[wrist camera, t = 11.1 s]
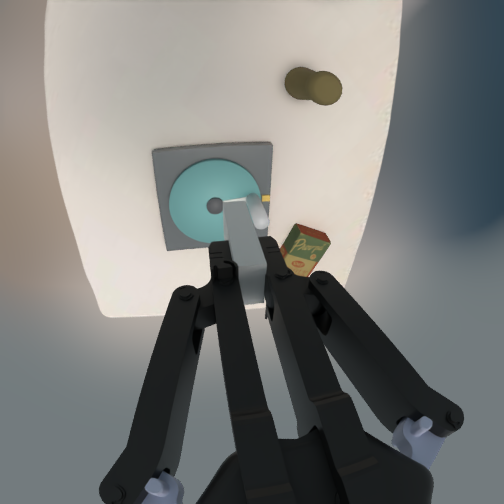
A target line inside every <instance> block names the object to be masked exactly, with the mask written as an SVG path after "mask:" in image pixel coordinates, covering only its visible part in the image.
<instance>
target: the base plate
mask: <svg viewBox="0 0 504 504" xmlns="http://www.w3.org/2000/svg"><path fill="white" fill-rule="evenodd" d="M272 154H273V145H272V143H271V142H244V143H220V144H204V145H191V146H180V147H170V148H161V149H154V150H153V152H152V157H153V165H154V173H155V181H156V188H157V195H158V202H159V208H160V215H161V221H162V226H163V232H164V238H165V243H166V248H167V251H172V250H183V249H194V248H206V247H209V245H210V244H211V243H205V242H200V241H197V240H194V239H192V238H190V237H188V236H187V235H185V234H184V233H183V232H181V231H180V230H179V229H178V227H177V226H176V225H175V223H174V221H173V219H172V217H171V214H170V210H169V199H170V193H171V189H172V187H173V184H174V182H175V181H176V179H177V178H178V176H179V175H180V174H181V173H182V172H183V171H184V170H185V169H187V168H188V167H189V166H191V165H193V164H195V163H197V162H200V161H203V160H207V159H226V160H230V161H233V162H235V163H238V164H239V165H241V166H243V167H244V168H245V169H247V170H248V171H249V172H250V174H251V175H252V176H253V178H254V179H255V181H256V183H257V185H258V187H259V191H260V195H261V202H262V204H263V207H264V209H265V211H266V213H267V216H268V218H269V204H270V188H271V171H272ZM253 225H254V223H253ZM254 228H255V230H256V233H257V236H258V237H265V236H267V234H268V227H267V228H265V229H257V228H256V227H255V226H254Z"/></svg>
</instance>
